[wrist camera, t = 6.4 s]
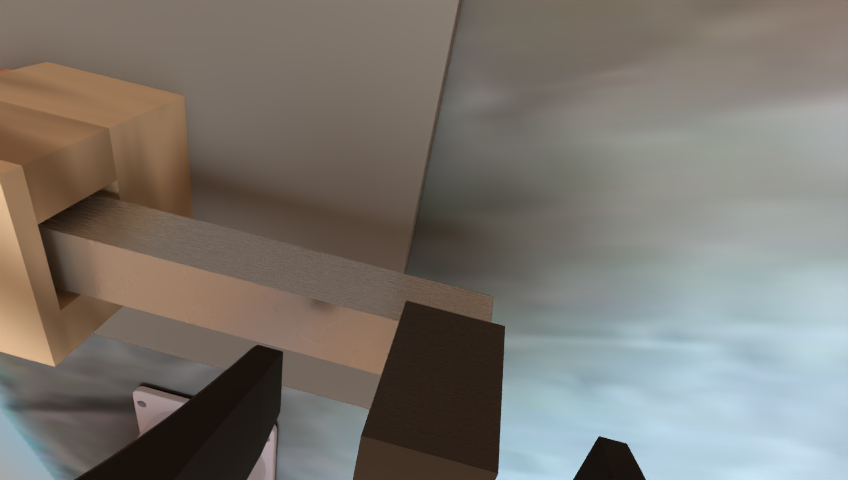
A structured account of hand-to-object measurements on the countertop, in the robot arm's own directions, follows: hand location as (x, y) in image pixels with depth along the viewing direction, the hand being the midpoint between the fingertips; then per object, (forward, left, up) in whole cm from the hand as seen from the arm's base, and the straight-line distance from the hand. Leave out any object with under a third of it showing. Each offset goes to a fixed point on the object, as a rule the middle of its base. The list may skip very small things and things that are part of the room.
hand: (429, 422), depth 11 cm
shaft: (0, +6, -4) cm, 7 cm away
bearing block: (0, +13, -8) cm, 15 cm away
